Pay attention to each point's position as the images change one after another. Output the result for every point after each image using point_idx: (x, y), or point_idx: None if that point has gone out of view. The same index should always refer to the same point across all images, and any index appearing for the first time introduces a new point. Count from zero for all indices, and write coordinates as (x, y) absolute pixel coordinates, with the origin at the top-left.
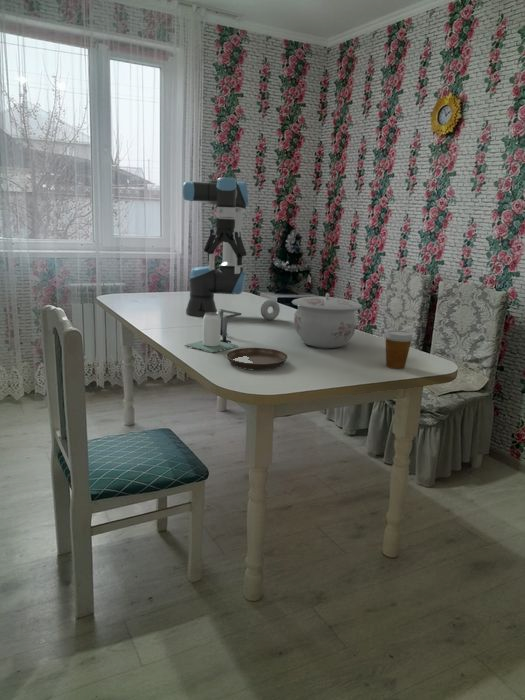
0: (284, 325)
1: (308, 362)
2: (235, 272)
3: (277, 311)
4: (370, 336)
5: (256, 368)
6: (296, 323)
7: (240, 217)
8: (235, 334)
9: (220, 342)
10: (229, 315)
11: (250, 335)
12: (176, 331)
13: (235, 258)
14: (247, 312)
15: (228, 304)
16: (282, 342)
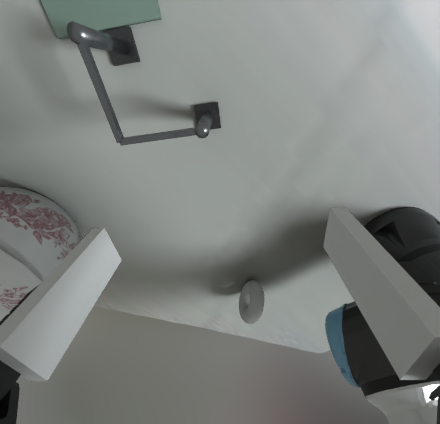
0: (201, 273)
1: None
2: (92, 233)
3: (239, 304)
4: None
5: None
6: (4, 201)
7: None
8: (188, 149)
9: (105, 15)
10: (88, 66)
11: (163, 170)
12: (323, 19)
13: (6, 332)
14: (320, 298)
15: None
16: (77, 176)
